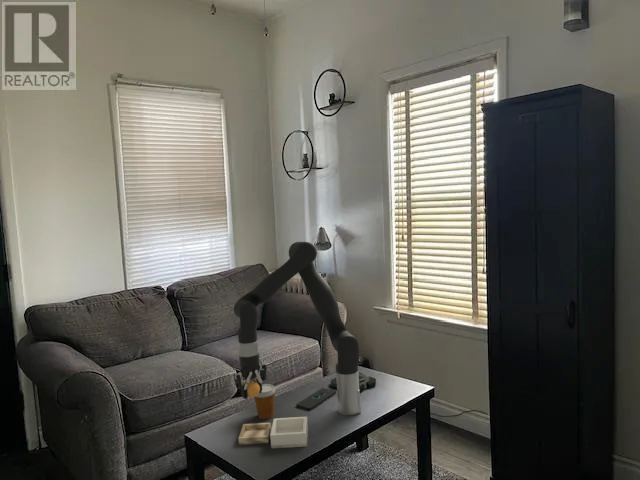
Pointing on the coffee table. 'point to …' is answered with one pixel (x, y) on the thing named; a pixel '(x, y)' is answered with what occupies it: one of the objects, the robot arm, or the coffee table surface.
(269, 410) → the disposable coffee cup
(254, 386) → the ball
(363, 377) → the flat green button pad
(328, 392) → the smart home device
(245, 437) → the tray
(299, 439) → the white square bin
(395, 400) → the coffee table surface
